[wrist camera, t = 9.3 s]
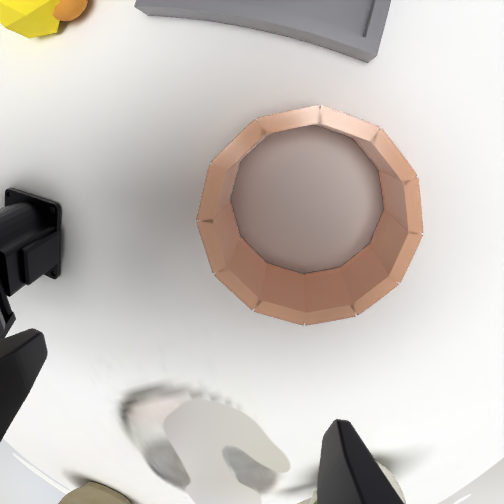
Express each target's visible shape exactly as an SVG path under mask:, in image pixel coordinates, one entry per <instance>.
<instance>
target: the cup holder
mask: <svg viewBox="0 0 504 504" xmlns="http://www.w3.org/2000/svg"><path fill="white" fill-rule="evenodd" d="M313 124H315V125H318V126H321V127H324V128H327V129H329V130H332V131H335V132H338V133H341V134H343V135H346V136H349V137H352V138H353V139H354V140H355V142H356V143H357V144H358V145H359V146H360V147H361V149H362V150H363V151H364V152H365V153H366V155H367V156H368V157H369V158H370V160H371V161H372V162H373V163H374V165H375V166H376V167H377V168H378V171H379V177H380V183H381V190H382V197H383V204H384V210H383V212H382V215H381V217H380V220H379V222H378V225H377V227H376V230H375V232H374V234H373V237H372V239H371V242H370V244H369V245H367V246H366V247H365V248H364V249H362V250H361V251H360V252H359V253H357V254H356V255H355V256H354V257H352V258H351V259H350V260H349V261H347V262H346V263H345V264H344V265H342V266H341V267H338V268H333V269H328V270H323V271H318V272H312V273H307V274H301V273H298V272H295V271H291V270H288V269H285V268H281V267H278V266H275V265H272V264H268V263H267V262H266V261H265V260H264V259H263V258H262V257H261V256H260V255H259V254H258V253H257V252H256V251H255V250H254V249H253V248H252V247H251V246H250V245H249V244H248V243H247V242H246V241H245V240H244V239H243V238H242V237H241V236H240V233H239V229H238V226H237V222H236V218H235V215H234V211H233V208H232V204H231V200H230V198H231V194H232V191H233V187H234V183H235V180H236V176H237V172H238V169H239V165H240V162H241V160H242V159H243V158H244V157H245V156H246V155H247V154H248V153H249V152H251V151H252V150H253V149H254V148H255V147H256V146H257V145H258V144H259V143H260V142H261V141H262V140H263V139H264V138H265V137H266V136H268V135H269V134H270V133H274V132H279V131H283V130H288V129H293V128H298V127H302V126H307V125H313ZM211 162H212V163H211V164H210V165H209V169H208V173H207V177H206V181H205V185H204V189H203V193H202V197H201V202H200V206H199V210H198V215H197V219H196V220H198V221H197V225H198V229H199V232H200V235H201V238H202V241H203V244H204V248H205V251H206V254H207V257H208V260H209V263H210V266H211V269H212V272H213V273H215V276H216V277H217V278H218V279H219V280H220V281H221V282H222V283H223V284H224V285H225V286H226V287H227V288H228V289H229V290H230V291H232V292H233V293H234V294H235V295H236V296H237V297H238V298H239V299H240V300H241V301H242V302H243V303H244V304H246V305H247V306H248V307H249V308H250V309H251V310H253V309H254V308H255V309H254V312H257V313H261V314H264V315H268V316H271V317H275V318H278V319H282V320H285V321H289V322H292V323H296V324H300V325H303V324H304V322H305V325H312V324H318V323H323V322H329V321H334V320H340V319H345V318H350V317H355V313H356V314H357V315H359V314H361V313H362V312H363V311H365V310H366V309H367V308H369V307H370V306H372V305H373V304H374V303H376V302H377V301H378V300H380V299H381V298H382V297H384V296H385V295H386V294H388V293H389V292H390V291H391V290H393V289H394V288H395V287H397V286H398V285H399V284H398V282H400V283H401V281H402V279H403V277H404V275H405V273H406V271H407V268H408V266H409V264H410V262H411V260H412V258H413V256H414V254H415V251H416V249H417V247H418V245H419V243H420V240H421V238H422V236H423V235H422V234H421V233H423V222H422V209H421V198H420V189H419V180H418V178H417V177H416V176H417V174H416V173H415V171H414V170H413V169H412V167H411V166H410V164H409V163H408V162H407V160H406V159H405V158H404V156H403V155H402V153H401V152H400V151H399V149H398V148H397V147H396V146H395V144H394V143H393V142H392V140H391V139H390V138H389V137H388V135H387V134H386V133H385V132H384V130H383V129H381V128H379V126H377V125H374V124H372V123H369V122H367V121H364V120H362V119H359V118H356V117H354V116H351V115H348V114H346V113H343V112H340V111H337V110H335V109H332V108H329V107H326V106H323V105H321V106H319V105H315V106H310V107H305V108H300V109H295V110H290V111H285V112H281V113H276V114H272V115H267V116H263V117H259V118H257V120H253V121H252V122H251V123H250V124H249V125H248V126H247V127H246V128H245V129H244V130H243V131H242V132H241V133H240V134H239V135H237V136H236V137H235V138H234V139H233V140H232V141H231V142H230V143H229V144H228V145H227V146H226V147H225V148H224V149H223V150H222V151H221V152H220V153H219V154H218V155H217V156H216V157H215V158H214V159H213V160H212V161H211Z"/></svg>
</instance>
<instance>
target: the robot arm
mask: <svg viewBox="0 0 504 504" xmlns="http://www.w3.org/2000/svg"><path fill="white" fill-rule="evenodd" d="M54 209H55V211H54ZM60 212H61V209H60V206H59V204H58V203H56V202H53V201H50V200H47V199H44V198H41V197H38V196H35V195H32V194H29V193H26V192H23V191H19V190H16V189H13V188H9V189H6V191H5V207H4V208H2V209H0V442H1V440H2V438H3V436H4V435H5V433H6V431H7V429H8V428H9V426H10V424H11V422H12V421H13V419H14V417H15V416H16V414H17V412H18V411H19V409H20V407H21V406H22V404H23V402H24V401H25V399H26V397H27V396H28V394H29V392H30V390H31V388H32V386H33V384H34V382H35V380H36V378H37V376H38V374H39V372H40V370H41V368H42V366H43V364H44V362H45V360H46V358H47V347H46V343H45V338H44V335H43V333H42V332H40V331H38V330H36V329H33V328H32V329H28V330H26V331H23V332H20V333H18V334H15V335H12V336H10V337H7V338H5V336H6V335H7V333H8V331H9V330H10V328H11V326H12V325H13V323H14V321H15V320H16V317H15V315H14V312H12V310H11V307H10V304H9V301H8V299H7V296H9V297H10V296H12V295H13V294H14V293H15V292H17V291H18V290H19V289H20V288H22V287H23V286H24V285H30V284H31V283H32V282H34V281H35V280H36V279H38V278H39V277H40V276H42V275H43V274H44V275H46V276H48V277H50V278H53V279H57V278H58V277H59V276H60ZM6 295H7V296H6ZM317 504H404V503H403V501H402V500H401V498H400V497H399V495H398V494H397V492H396V491H395V489H394V488H393V486H392V485H391V483H390V482H389V480H388V479H387V477H386V476H385V474H384V473H383V471H382V470H381V468H380V467H379V465H378V464H377V462H376V461H375V459H374V458H373V456H372V455H371V453H370V452H369V450H368V449H367V447H366V446H365V444H364V443H363V441H362V439H361V438H360V436H359V435H358V433H357V432H356V430H355V429H354V427H353V426H352V424H351V423H350V422H349V421H347V420H340V419H336V420H334V421H333V423H332V424H331V426H330V427H329V428H328V430H327V431H326V433H325V434H324V436H323V440H322V449H321V458H320V466H319V474H318V482H317Z"/></svg>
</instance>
